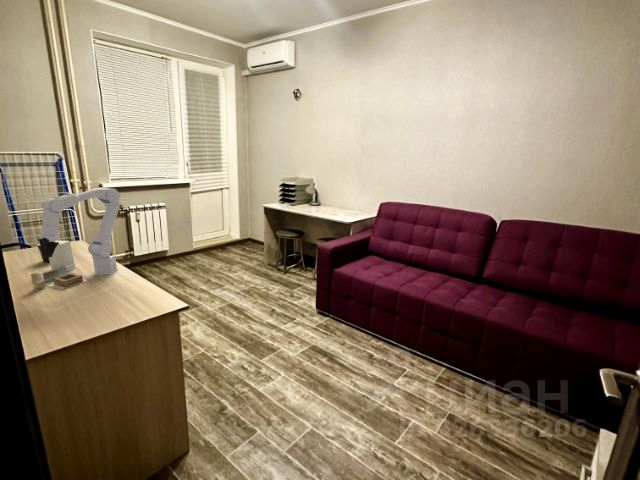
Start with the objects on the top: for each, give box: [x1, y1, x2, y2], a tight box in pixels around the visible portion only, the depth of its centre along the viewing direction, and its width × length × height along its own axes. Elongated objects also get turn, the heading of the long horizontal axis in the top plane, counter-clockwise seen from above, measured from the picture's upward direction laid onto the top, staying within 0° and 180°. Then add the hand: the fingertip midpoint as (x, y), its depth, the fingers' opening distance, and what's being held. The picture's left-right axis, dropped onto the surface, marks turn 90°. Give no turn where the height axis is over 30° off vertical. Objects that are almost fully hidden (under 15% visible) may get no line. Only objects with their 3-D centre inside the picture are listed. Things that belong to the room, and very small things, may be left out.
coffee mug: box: [36, 242, 50, 263], centre depth 186 cm, size 12×9×10 cm
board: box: [45, 278, 88, 290], centre depth 161 cm, size 15×12×1 cm
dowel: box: [30, 271, 46, 291], centre depth 152 cm, size 4×4×8 cm
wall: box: [42, 266, 68, 283], centre depth 162 cm, size 2×10×5 cm, turn 158°
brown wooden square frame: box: [53, 272, 84, 288], centre depth 159 cm, size 8×8×3 cm
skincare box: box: [49, 239, 76, 273], centre depth 173 cm, size 8×7×16 cm
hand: (46, 255), depth 149 cm, fingers open, 7 cm apart
